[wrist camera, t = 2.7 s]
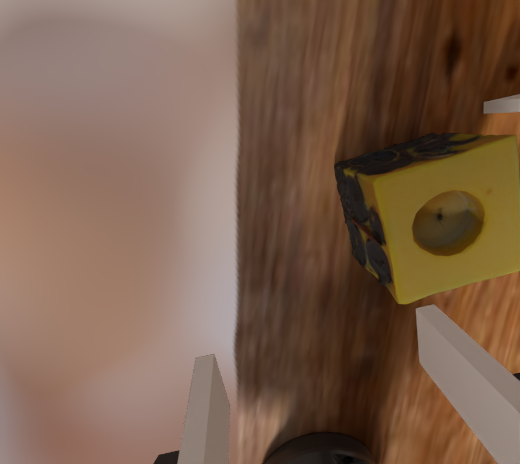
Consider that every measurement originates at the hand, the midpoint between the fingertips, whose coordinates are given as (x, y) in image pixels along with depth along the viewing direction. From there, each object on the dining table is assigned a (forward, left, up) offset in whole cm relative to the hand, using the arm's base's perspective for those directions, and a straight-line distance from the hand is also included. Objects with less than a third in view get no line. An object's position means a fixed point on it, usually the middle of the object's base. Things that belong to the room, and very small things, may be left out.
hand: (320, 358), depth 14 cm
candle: (+12, -2, -20) cm, 23 cm away
